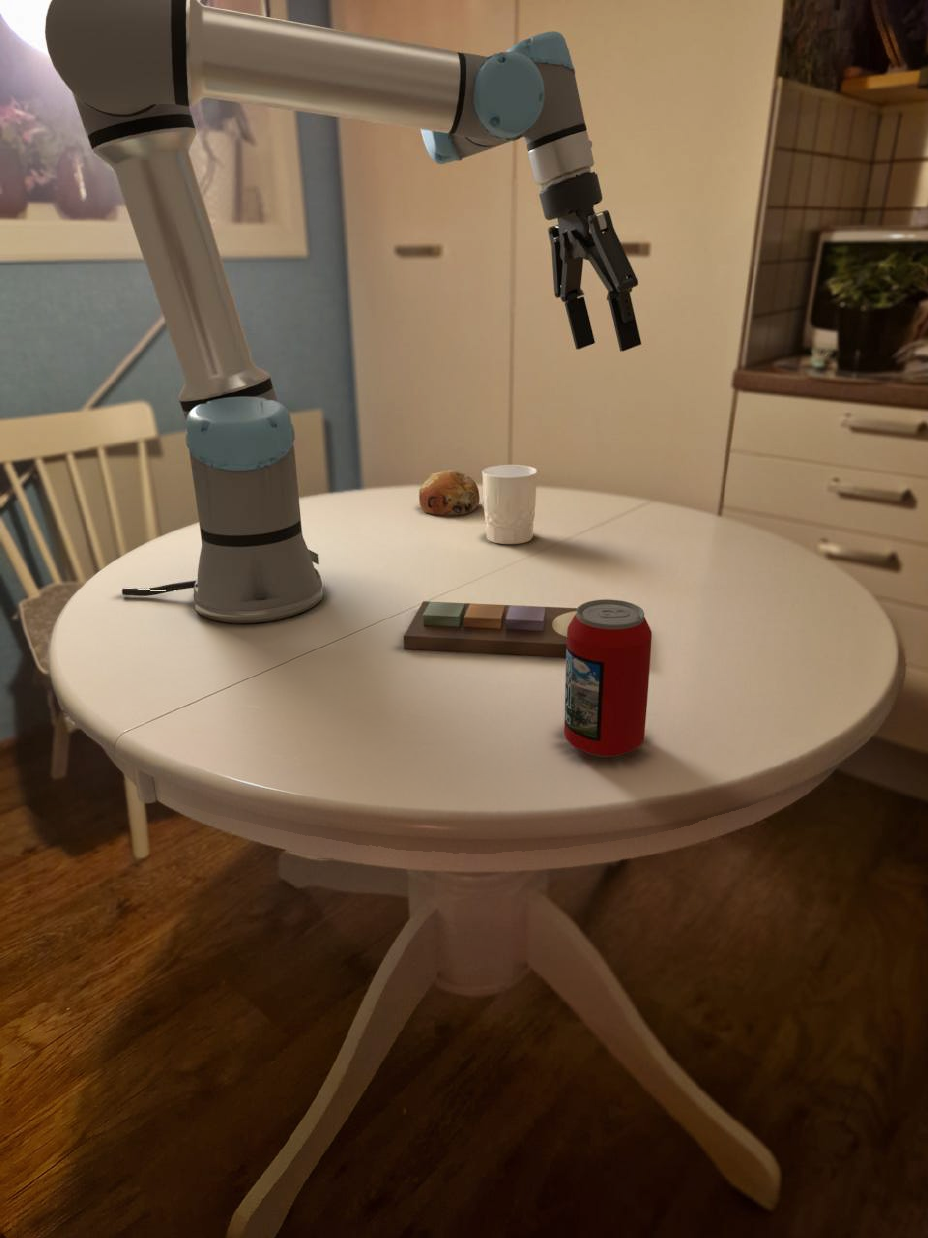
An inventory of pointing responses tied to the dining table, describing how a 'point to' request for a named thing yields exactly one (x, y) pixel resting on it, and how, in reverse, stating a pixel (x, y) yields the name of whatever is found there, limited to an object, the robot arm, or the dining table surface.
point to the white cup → (509, 503)
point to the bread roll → (449, 494)
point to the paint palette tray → (490, 628)
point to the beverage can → (607, 677)
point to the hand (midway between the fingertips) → (607, 347)
